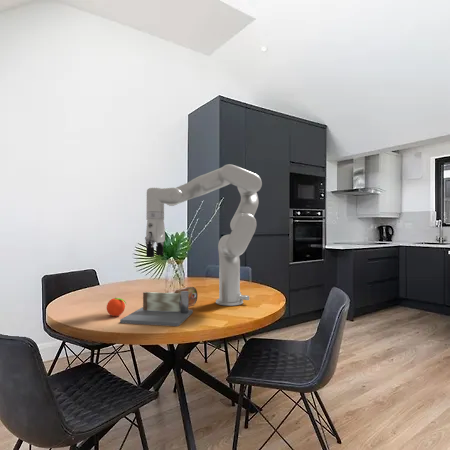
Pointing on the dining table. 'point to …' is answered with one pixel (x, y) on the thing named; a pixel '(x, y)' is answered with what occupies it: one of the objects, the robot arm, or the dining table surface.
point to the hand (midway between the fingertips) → (155, 255)
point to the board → (156, 317)
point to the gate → (161, 301)
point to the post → (184, 302)
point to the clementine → (116, 306)
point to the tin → (189, 295)
